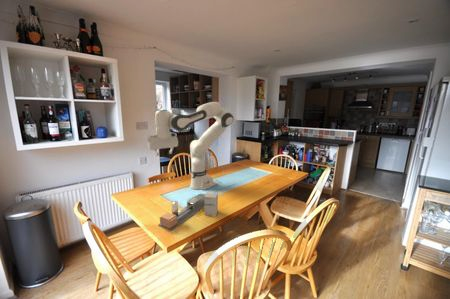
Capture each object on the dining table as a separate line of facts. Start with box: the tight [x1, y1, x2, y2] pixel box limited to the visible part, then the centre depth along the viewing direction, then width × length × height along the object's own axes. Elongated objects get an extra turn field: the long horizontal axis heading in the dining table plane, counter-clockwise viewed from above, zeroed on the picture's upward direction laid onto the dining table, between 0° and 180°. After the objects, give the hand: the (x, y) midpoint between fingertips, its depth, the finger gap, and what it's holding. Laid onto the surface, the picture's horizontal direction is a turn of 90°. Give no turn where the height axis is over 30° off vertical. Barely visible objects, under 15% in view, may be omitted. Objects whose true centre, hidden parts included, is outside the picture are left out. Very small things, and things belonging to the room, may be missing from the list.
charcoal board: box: [158, 203, 205, 232], centre depth 125 cm, size 37×10×1 cm, turn 150°
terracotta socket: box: [159, 212, 178, 228], centre depth 112 cm, size 6×8×5 cm
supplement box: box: [204, 191, 219, 217], centre depth 125 cm, size 7×7×13 cm
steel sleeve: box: [186, 193, 206, 211], centre depth 133 cm, size 14×5×5 cm, turn 150°
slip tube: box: [171, 200, 193, 217], centre depth 120 cm, size 21×4×10 cm, turn 150°
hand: (164, 154), depth 135 cm, fingers open, 8 cm apart
